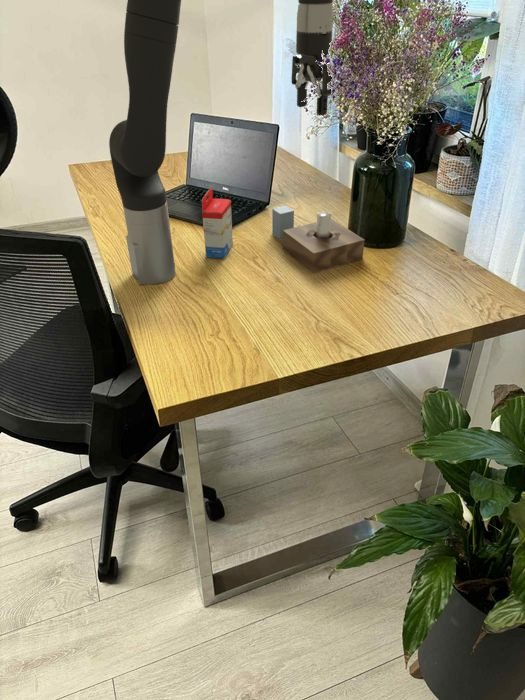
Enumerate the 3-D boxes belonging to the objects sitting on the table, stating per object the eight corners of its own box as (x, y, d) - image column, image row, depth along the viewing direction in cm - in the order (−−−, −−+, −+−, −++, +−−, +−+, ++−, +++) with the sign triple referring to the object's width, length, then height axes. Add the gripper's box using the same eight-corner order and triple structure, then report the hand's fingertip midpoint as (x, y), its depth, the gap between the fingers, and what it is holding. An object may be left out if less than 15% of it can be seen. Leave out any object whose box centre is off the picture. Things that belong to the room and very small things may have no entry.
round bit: (319, 258, 131) (322, 218, 125) (312, 252, 133) (314, 214, 127) (331, 255, 132) (333, 216, 126) (323, 249, 134) (326, 211, 128)
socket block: (312, 272, 125) (313, 253, 122) (282, 249, 135) (282, 230, 132) (362, 259, 130) (364, 239, 127) (330, 236, 140) (331, 218, 137)
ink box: (225, 259, 131) (221, 200, 122) (205, 257, 132) (200, 199, 123) (233, 243, 137) (230, 187, 129) (214, 242, 138) (210, 185, 129)
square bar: (279, 239, 139) (280, 213, 135) (272, 234, 142) (272, 208, 138) (293, 236, 140) (293, 210, 136) (285, 230, 143) (286, 205, 139)
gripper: (282, 26, 118) (281, 106, 127) (317, 33, 108) (314, 119, 117) (311, 23, 120) (308, 102, 130) (348, 30, 110) (342, 115, 120)
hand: (311, 110), depth 124 cm, fingers open, 8 cm apart
